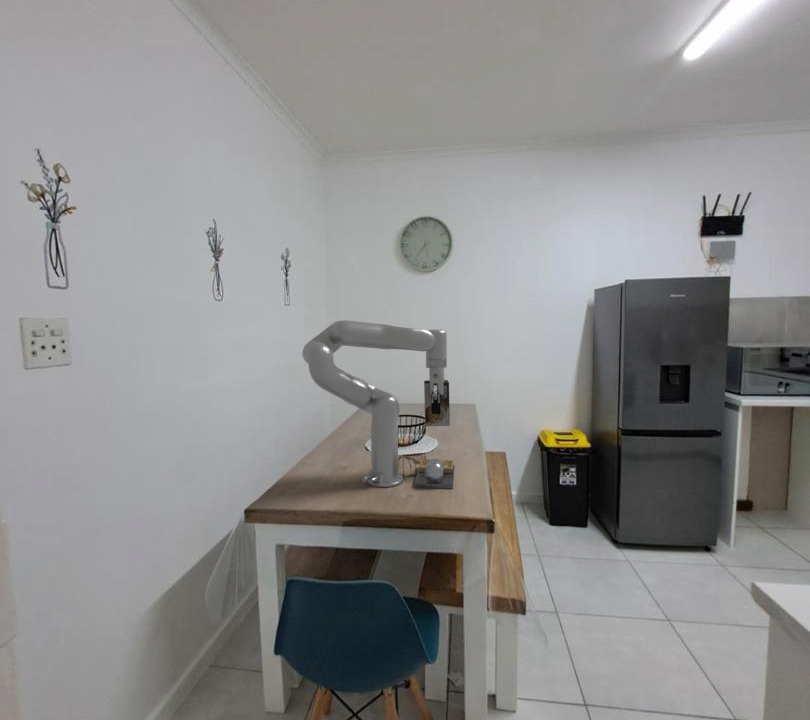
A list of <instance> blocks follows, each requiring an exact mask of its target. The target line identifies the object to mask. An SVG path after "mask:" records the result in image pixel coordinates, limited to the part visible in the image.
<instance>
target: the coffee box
mask: <svg viewBox="0 0 810 720" xmlns="http://www.w3.org/2000/svg"><path fill="white" fill-rule="evenodd" d="M423 385H424V386H423V387H424V389H423V392H424V394H423V396H424V426H425V427H451V423H450V421H451V418H450V417H451V416H450V415H451V414H450V411H451V409H450V382H449V380H448V379H444V395H442V394H440V414H432V413H431V403H432V395H431V394H430V381H429V380H424V381H423ZM437 389H438V386H437ZM433 391H434V390H433ZM437 394H439V393H438V392H437Z"/></svg>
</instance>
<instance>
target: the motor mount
mask: <svg viewBox="0 0 810 720" xmlns="http://www.w3.org/2000/svg"><path fill="white" fill-rule="evenodd" d="M454 478H455V464H454V459H453V460H449V459H447V460H445V459H438V458H431V459H425V458H424V459H421V460H420V463H419V465H418V470H417V473H416V476H415V479H414V480H415V481H414V488H424V489H425V488H426V489H442V490H443V489H447V490H448V489H450V490H454V480H455V479H454Z"/></svg>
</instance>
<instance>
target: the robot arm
mask: <svg viewBox="0 0 810 720" xmlns="http://www.w3.org/2000/svg"><path fill="white" fill-rule="evenodd" d="M447 336H448V335H447V331H446V330H445V329H423V328H412V327H401V326H396V325H390V324H383V323H373V322H365V321H355V320H345V319H344V320H337V321H334V322H333V323H331V324H330V325H329V326H327V327H326V328H325V329H324V330H322V331H321V332H320V333H318V334H317V335H315V337H312V339H311V340H309V341H307V343H306V344H304V346H303V348H302V352H301V353H302V358H303V360H304V361H305V363H307V364H308V365H307V366H308V371H309V374H310V377H311V378H312V380H313V382H314V383H315V384H316V385H317V386H318V387H320V388H321V389H322V390H324V391H326V392H328V393H330V394H331V395H334V396H335V397H337V398H339V399H341V400H342V401H344V402H346V403H347V404H348V405H351V406H353V407H356V408H358V409H360V410H362V411H364V412H366V413H368V414H370V415H371V424H370V456H371V458H370V459H371V460H370V463H371V464H370V465H371V469H369V473H368V474H367V475H364V476H362V477H361V481H362V483H366V482H367V483H368V485H371V487H372V486H374V487H377V488H390V487H395V486H397V485H400V484H402V482H403V480H404V479H403V476H402V474H400V473H399V436H398V435H399V431H398V430H399V428H398V426H399V418H400V410H401V409H400V403H399V401H398V399H397V398H396V397H395V395H393V394H391V393H389V392H386V391H384V390H382V389H380V388H378V387H376V386H374V385H372V384H370V383H368V382H366V381H365V380H364V379H361V378H360V377H357V376H354V375H351V374H349V373H348V372H346V371H344V370H342V369H341V368H339V367H337V366H336V364H335V362H334V353H336V352H337V351H338V350H339V349H341V348H342V347H343V346H344V347H345V346H346V347H353V348H354V347H355V348H368V349H379V350H400V351H401V350H404V351H412V352H413V351H415V352H416V351H417V352H425V368H427V369H429V371H428V372H429V374H428V375H429V380H428V381H430V394H431V395H432V403H431V413H432V414H440V394H442V395H444V380H445V369H446V368H447V367H448V365H447V363H448V362H447V361H448V360H447V358H448V357H447V355H448V354H447V352H448V349H447V347H448V346H447ZM437 386H438V389H437ZM433 390H434V391H433ZM437 392H438V393H439V394H437Z"/></svg>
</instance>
